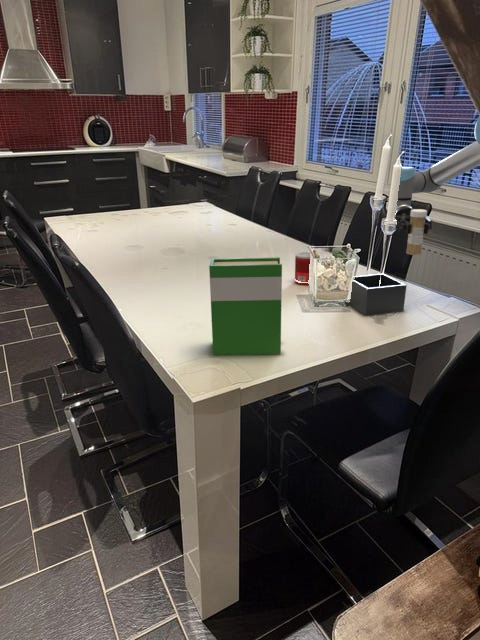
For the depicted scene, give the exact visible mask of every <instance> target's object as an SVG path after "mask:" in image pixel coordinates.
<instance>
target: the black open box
mask: <svg viewBox="0 0 480 640" xmlns="http://www.w3.org/2000/svg"><path fill="white" fill-rule="evenodd" d="M380 275H381V284H380V287H379V280H380ZM354 277H355V279H354V280H353V282H352V292H351V299H350V302H349V303H347V305H349V306H350V307H352V308H353V309H355V310H356V311H358V312H359V313H361V314H362V315H363V316H366V317H368V316H374V315H383V314H391V313H400V312H404V311H405V309H404V308H405V302H406V301H405V300H406V292H407V287H408V286H407V284H406V283H404V282H402V281H400V280H397V279H396V278H394V277H392V276H389V275H387V274H385V273H376V274H375V273H374V274H365V275H357V276H354Z"/></svg>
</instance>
